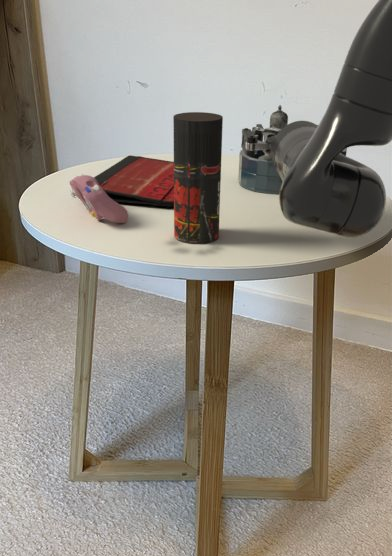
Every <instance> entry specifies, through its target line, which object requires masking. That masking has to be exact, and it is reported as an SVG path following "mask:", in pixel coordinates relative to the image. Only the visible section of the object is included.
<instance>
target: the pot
mask: <svg viewBox="0 0 392 556" xmlns="http://www.w3.org/2000/svg"><path fill="white" fill-rule="evenodd" d="M264 155H265V153H264V152H263V150H257V154H255V156H252V157H249V156H247V155H246V154H245V152H244V151H243V149H242V148H241V150H240V151H239V159H238V174H237V175H238V178H237V179H238V182H237V183H238V185H239V187H241V188H243V189H245V190H249V191H252V192H256V193H260V194H269V195H279V194H280V188H281V185H282V182H283V181H282V179H281V178H280V176H279V174H278V172H277V171H276V168H275V166H274V163H273V161H266V160H259V159H258V158H259V157H260V156H264Z"/></svg>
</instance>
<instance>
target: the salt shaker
mask: <svg viewBox="0 0 392 556" xmlns="http://www.w3.org/2000/svg"><path fill="white" fill-rule="evenodd" d="M282 109H283V107H282V105H281V104H279V105H278V107H277V110H276V111H273V112H272V113H271V114H270V117H269V128H271V127H274V128H278V129H282V128H283V127H285V126H286V125H288V124H289V123H288V122H289V115H288V113H286V112H285V111H283V110H282ZM275 135H276V134H274V136H275ZM258 159H259V160H266V161H272V157H271V155H269V154H265V155H264V156H260V157H259V158H258Z"/></svg>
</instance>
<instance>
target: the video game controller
mask: <svg viewBox="0 0 392 556" xmlns="http://www.w3.org/2000/svg"><path fill="white" fill-rule="evenodd" d="M94 177H95V176H91V175H86V174H84V173H81V175H79V176H78V175H76V176H75V177H73V178H72V179H70V181H69V185H70V187H71V190H69V195H70V196H71V197H72V198H74V199H76V198H78V199H79V200H80V201H81V203H82V204H83V205H84V207H85V208H86V210H87V211H88V212H89V214H90V216H91V217H92V218H95V219H96V220H97V221H98V222H99V221H101V220H102V219H105V220H107V221H109V222H112V223H116V224H124V223H127V221H128V219H129V213H128V211H127V209H126V208H125V207H124V206H123V205H121V204H120V203H119V202H115V201H114V200H112V199H111V198H110V197H109V196H108V195H107V194H106V193H105V191H104V190H103V189H102V188H101V187H100V186H99V183H98V181H97V180H96V179H95V178H94Z"/></svg>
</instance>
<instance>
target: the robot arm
mask: <svg viewBox="0 0 392 556" xmlns="http://www.w3.org/2000/svg"><path fill="white" fill-rule="evenodd" d="M340 70H341V71H340V73H339V76H338V79H337V82H336V85H335V86H334V87H335V88H334V91H333V93H332V95H331V98H330V101H329V103H328V106H327V108H326V110H325V112H324V114H323V116H322V117H321V120H320V121H319V123H318V124H316V123H314V122H312V121H309V120H297V121H293V122H290V123H288V124H287V125H286V126H285V127H283V128H282V129H278V128H274V127H271V128H270V127H266V128H264V126H263V125H262V123H256V125H255V126H252V128H251V129H250V128H248V127H245V128H242V129H241V145H240V147H241V150H242V149H243V151H244V152H245V154H246V155H247V156H249V157H252V156H255V154H257V150H263V152H264V153H265V154H269V155H271V157H272V161H273V163H274V166H275V168H276V171H277V172H278V174H279V176H280V178H281V179H282V181H283V182H282V185H281V188H280V194H278V201H279V202H278V203H279V209H280V212H281V214H282V216H283V217H284V218H285V219H286V220H287V221H288V222H290V223H292V224H295V225H297V226H301V227H306V228H309V229H314V230H317V231H321V232H324V233H329V234H333V235H337V236H340V237H345V238H358V237H362V236H364V235H366V234H368V233H370V232H371V231H372V230H373V229H374V228H375V227H376V226H377V225H378V224H379V223H380V221H381V219H382V218H383V216H384V212H385V210H386V204H387V192H386V187H385V184H384V181H383V179H382V177H381V176H380V175H379V174H378V172H376V171H375V170H374V169H372V168H371V167H370V166H368V165H366V164H364V163H361V162H359V161H358V160H355V159H353V158H351V157H349V156H347V152H348V148H351V147H357V146H359V147H360V146H363V147H365V146H366V147H381V146H385V145H388V144H390V143H391V142H392V0H378V1H377V2H376V3H375V4H374V6H373V7H372V8H371V10H370V11H369V13H368V14H367V16H366V17H365V19H364V20H363V22H362V23H361V25H360V27H359V28H358V30H357V32H356V34H355V36H354V38H353V39H352V42H351V44H350V46H349V49H348V51H347V54H346V56H345V60H344V62H343V65H342V68H341V69H340ZM274 134H276V135H275V136H274Z"/></svg>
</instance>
